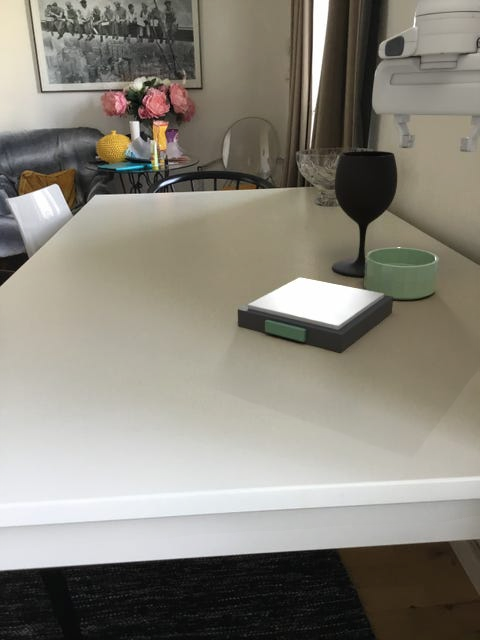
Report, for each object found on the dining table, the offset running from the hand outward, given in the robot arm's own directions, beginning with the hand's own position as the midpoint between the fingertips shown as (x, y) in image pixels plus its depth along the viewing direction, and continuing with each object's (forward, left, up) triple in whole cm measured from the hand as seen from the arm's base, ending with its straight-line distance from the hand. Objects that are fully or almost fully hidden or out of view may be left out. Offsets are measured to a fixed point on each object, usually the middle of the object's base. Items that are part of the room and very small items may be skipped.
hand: (435, 149), depth 80 cm
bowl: (+4, -1, -22) cm, 22 cm away
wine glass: (+14, -8, -22) cm, 27 cm away
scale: (+9, +17, -22) cm, 29 cm away
